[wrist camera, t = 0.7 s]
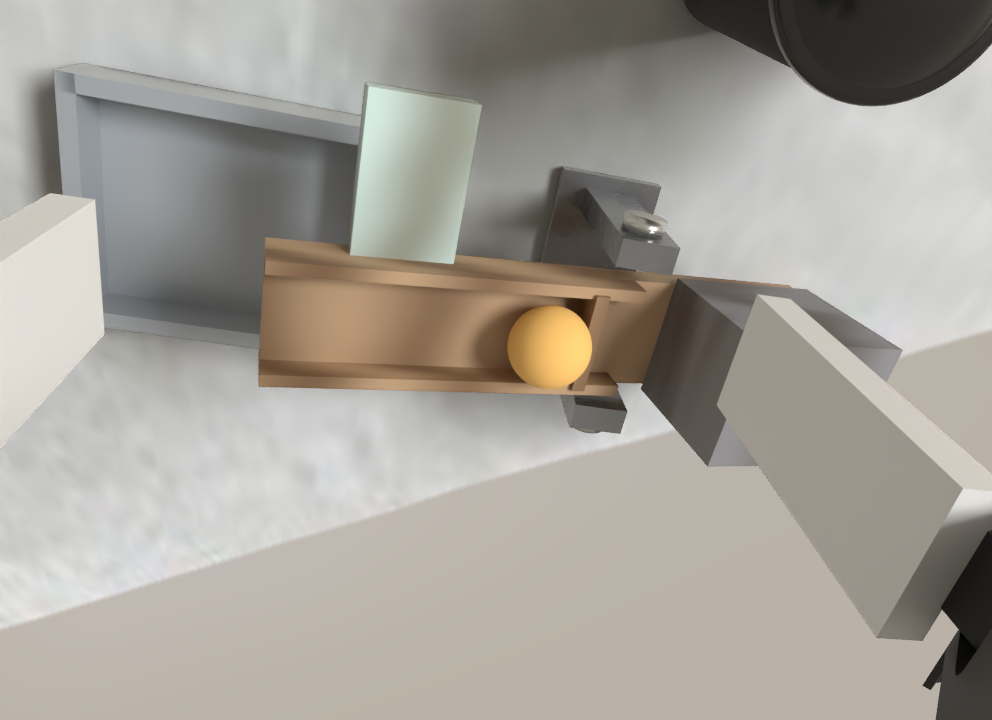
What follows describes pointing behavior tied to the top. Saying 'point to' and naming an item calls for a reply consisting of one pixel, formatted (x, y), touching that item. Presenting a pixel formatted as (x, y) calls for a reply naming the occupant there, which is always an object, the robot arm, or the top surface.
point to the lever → (495, 294)
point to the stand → (606, 256)
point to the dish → (197, 194)
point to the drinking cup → (859, 41)
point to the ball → (549, 347)
